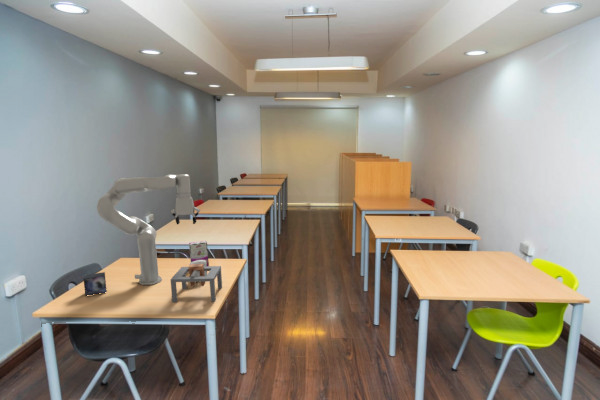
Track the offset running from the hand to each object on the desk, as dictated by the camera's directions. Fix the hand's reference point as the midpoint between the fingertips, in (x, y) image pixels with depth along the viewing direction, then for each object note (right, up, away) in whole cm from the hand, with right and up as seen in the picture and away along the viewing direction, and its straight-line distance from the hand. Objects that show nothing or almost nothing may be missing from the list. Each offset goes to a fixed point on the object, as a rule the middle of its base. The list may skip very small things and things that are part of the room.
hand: (186, 223), depth 228 cm
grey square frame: (+13, -37, -21) cm, 45 cm away
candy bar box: (+2, -30, +24) cm, 39 cm away
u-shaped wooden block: (+13, -32, -22) cm, 41 cm away
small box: (-45, -38, -16) cm, 61 cm away
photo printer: (+8, -34, 0) cm, 35 cm away
